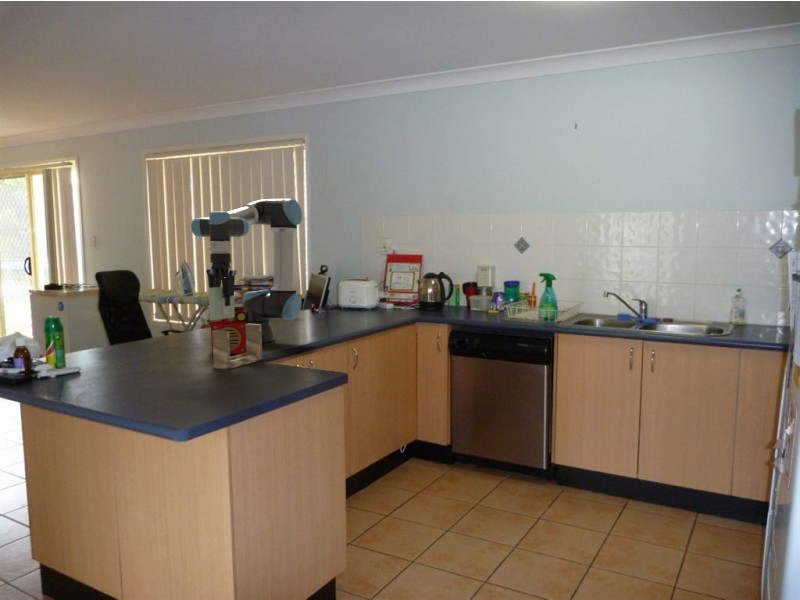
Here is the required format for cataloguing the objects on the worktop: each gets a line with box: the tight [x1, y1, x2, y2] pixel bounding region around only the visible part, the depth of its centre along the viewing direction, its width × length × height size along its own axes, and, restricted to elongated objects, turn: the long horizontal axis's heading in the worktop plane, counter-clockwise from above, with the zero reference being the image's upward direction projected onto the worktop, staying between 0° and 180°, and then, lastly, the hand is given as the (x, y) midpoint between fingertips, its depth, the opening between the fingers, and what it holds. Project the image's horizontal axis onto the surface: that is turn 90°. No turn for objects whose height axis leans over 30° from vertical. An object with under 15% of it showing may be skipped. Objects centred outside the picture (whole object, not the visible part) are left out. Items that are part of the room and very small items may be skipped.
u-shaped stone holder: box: [212, 323, 263, 371], centre depth 239 cm, size 20×6×14 cm, turn 153°
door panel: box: [208, 286, 235, 321], centre depth 239 cm, size 10×3×12 cm, turn 151°
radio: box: [208, 306, 249, 356], centre depth 259 cm, size 16×10×20 cm, turn 105°
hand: (222, 314), depth 240 cm, fingers closed on door panel, 3 cm apart
